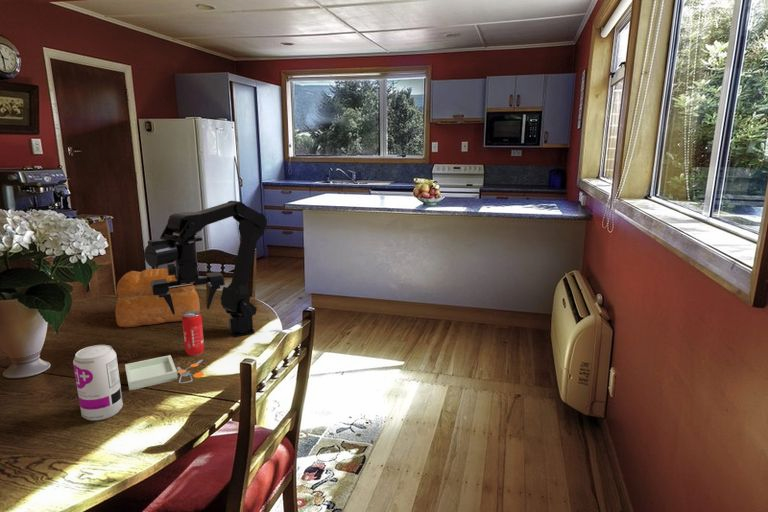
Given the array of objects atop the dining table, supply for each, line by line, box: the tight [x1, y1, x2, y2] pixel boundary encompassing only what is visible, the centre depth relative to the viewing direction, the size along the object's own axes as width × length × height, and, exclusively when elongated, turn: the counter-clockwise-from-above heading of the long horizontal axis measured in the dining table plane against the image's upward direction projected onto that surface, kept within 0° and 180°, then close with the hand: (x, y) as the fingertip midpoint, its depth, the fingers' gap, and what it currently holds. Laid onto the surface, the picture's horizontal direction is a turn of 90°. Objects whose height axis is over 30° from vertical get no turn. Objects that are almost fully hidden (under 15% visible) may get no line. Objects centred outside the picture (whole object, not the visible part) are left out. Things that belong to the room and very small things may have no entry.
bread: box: [115, 267, 201, 328], centre depth 163 cm, size 16×26×17 cm, turn 112°
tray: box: [124, 354, 179, 391], centre depth 125 cm, size 11×11×2 cm
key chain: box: [176, 359, 205, 384], centre depth 127 cm, size 13×7×1 cm, turn 21°
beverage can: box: [181, 311, 205, 357], centre depth 137 cm, size 5×5×12 cm
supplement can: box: [72, 344, 124, 422], centre depth 106 cm, size 8×8×15 cm
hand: (191, 311), depth 136 cm, fingers open, 9 cm apart
